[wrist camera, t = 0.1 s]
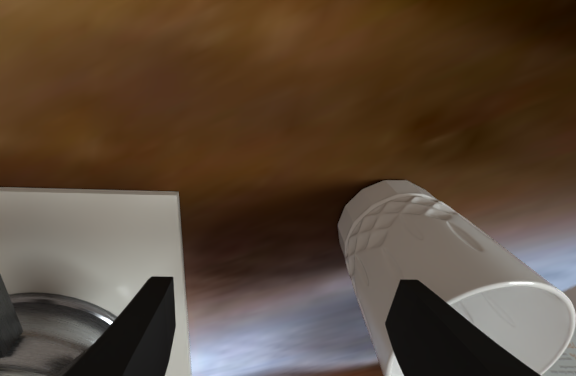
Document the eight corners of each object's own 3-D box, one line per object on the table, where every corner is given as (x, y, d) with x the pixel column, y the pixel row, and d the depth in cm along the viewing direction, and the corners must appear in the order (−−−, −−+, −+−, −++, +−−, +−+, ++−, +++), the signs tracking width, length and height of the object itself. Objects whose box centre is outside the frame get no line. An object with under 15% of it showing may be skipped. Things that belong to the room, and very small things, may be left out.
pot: (155, 420, 28) (138, 491, 23) (-3, 431, 26) (-52, 510, 22) (119, 209, 18) (79, 263, 14) (-132, 204, 17) (-264, 265, 12)
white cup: (307, 246, 22) (348, 395, 13) (372, 149, 19) (481, 253, 10) (394, 280, 24) (480, 425, 15) (463, 198, 21) (616, 317, 12)
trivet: (193, 394, 27) (192, 400, 27) (-26, 408, 25) (-31, 415, 25) (178, 191, 19) (176, 195, 18) (-160, 183, 16) (-172, 187, 16)
